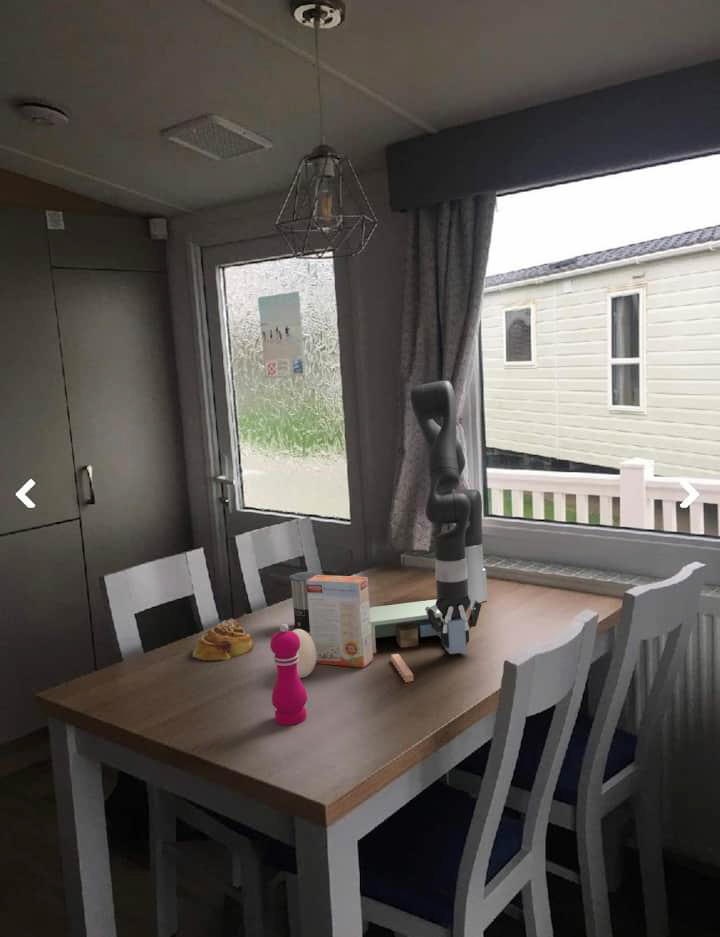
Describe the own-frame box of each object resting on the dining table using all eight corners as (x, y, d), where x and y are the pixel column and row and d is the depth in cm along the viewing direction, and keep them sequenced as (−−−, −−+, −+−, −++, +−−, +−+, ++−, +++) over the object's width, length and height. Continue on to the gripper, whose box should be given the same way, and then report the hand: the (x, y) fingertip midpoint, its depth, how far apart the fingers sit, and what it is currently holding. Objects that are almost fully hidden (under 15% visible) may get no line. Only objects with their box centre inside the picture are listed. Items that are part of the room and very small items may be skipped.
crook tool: (466, 651, 192) (464, 619, 191) (437, 656, 190) (435, 623, 189) (445, 631, 207) (444, 601, 206) (419, 635, 206) (417, 605, 205)
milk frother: (287, 631, 220) (283, 578, 218) (312, 614, 234) (309, 564, 232) (334, 634, 214) (330, 580, 213) (357, 616, 229) (354, 566, 227)
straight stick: (398, 661, 192) (398, 653, 192) (413, 683, 179) (413, 674, 179) (391, 662, 192) (391, 654, 192) (405, 684, 178) (405, 675, 178)
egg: (276, 680, 185) (273, 632, 183) (298, 668, 191) (294, 622, 190) (303, 685, 180) (300, 637, 179) (325, 673, 187) (321, 626, 185)
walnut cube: (413, 640, 206) (412, 623, 206) (418, 645, 202) (417, 628, 201) (396, 642, 205) (395, 625, 205) (401, 648, 201) (400, 630, 200)
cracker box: (374, 660, 193) (368, 575, 191) (363, 669, 188) (358, 582, 186) (323, 654, 199) (317, 573, 197) (311, 663, 194) (305, 579, 192)
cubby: (442, 627, 214) (441, 598, 213) (456, 641, 203) (455, 611, 202) (362, 638, 210) (360, 608, 209) (372, 653, 198) (370, 622, 197)
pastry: (262, 647, 208) (260, 618, 207) (217, 665, 197) (214, 634, 196) (230, 639, 217) (227, 610, 216) (184, 655, 206) (181, 625, 205)
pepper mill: (273, 713, 167) (266, 620, 164) (308, 709, 167) (301, 617, 165) (272, 728, 160) (265, 631, 157) (309, 724, 160) (301, 627, 158)
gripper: (474, 569, 196) (477, 636, 198) (418, 576, 193) (422, 644, 195) (485, 576, 189) (488, 646, 191) (427, 583, 186) (431, 654, 188)
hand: (455, 645), depth 193 cm, fingers closed on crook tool, 4 cm apart
